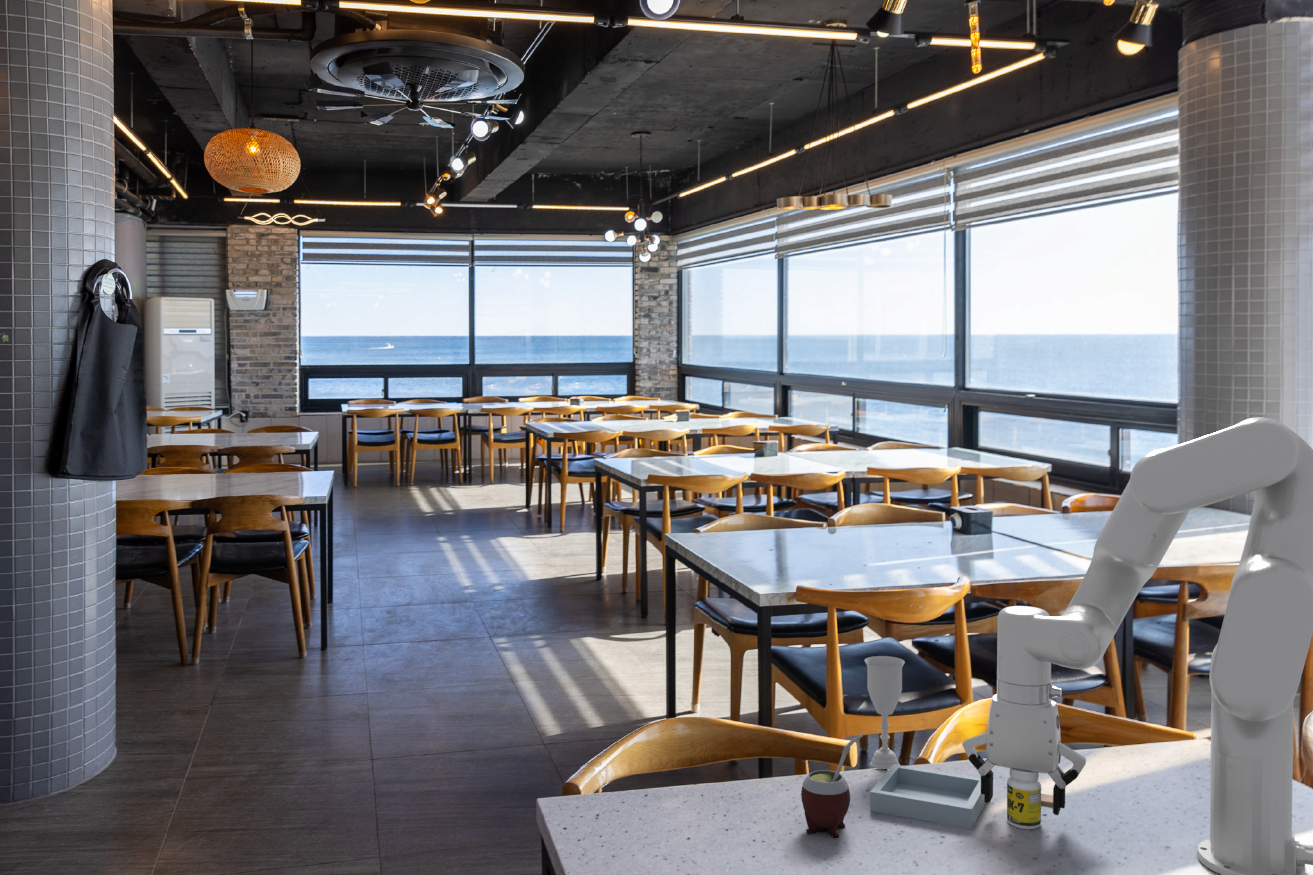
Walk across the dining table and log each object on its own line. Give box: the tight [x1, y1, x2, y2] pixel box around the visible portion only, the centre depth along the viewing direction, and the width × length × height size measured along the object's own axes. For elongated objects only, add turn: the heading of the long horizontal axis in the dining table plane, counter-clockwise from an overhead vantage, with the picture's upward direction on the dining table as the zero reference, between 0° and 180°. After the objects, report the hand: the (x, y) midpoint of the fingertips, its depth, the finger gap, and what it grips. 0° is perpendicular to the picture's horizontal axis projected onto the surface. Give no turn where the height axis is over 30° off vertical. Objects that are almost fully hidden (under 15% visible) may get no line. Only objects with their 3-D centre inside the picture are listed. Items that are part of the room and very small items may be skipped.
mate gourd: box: [800, 732, 865, 840], centre depth 151 cm, size 8×8×15 cm
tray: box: [869, 764, 987, 830], centre depth 160 cm, size 15×13×3 cm
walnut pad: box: [1041, 793, 1053, 807], centre depth 161 cm, size 6×3×1 cm, turn 62°
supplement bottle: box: [1006, 768, 1042, 830], centre depth 152 cm, size 5×5×8 cm
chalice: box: [863, 655, 906, 770], centre depth 177 cm, size 7×7×18 cm
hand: (1022, 805), depth 153 cm, fingers open, 9 cm apart
